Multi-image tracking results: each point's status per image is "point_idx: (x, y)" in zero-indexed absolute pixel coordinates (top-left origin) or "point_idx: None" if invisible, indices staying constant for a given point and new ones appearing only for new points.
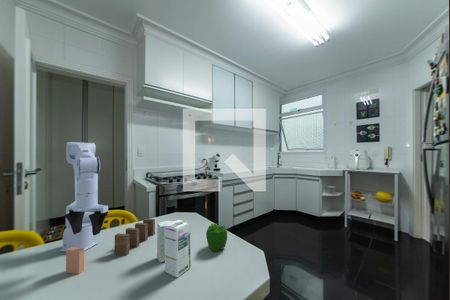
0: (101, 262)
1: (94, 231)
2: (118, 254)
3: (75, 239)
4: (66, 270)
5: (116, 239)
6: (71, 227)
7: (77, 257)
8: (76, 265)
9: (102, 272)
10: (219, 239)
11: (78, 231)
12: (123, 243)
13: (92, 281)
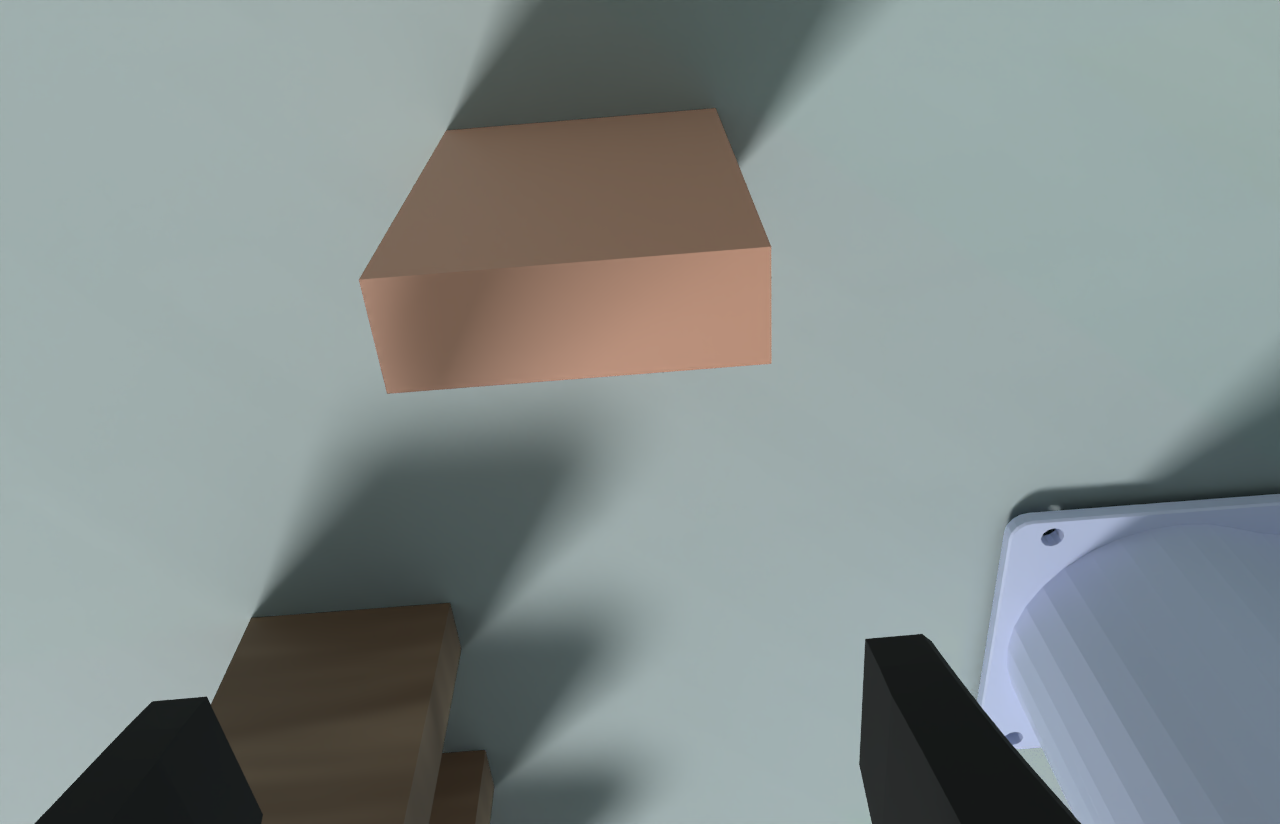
0: (427, 428)
1: (61, 802)
2: (382, 611)
3: (1230, 669)
4: (707, 118)
5: (371, 797)
6: (1051, 798)
7: (440, 219)
8: (487, 167)
9: (131, 254)
10: None
11: (869, 744)
12: (243, 756)
13: (16, 46)
